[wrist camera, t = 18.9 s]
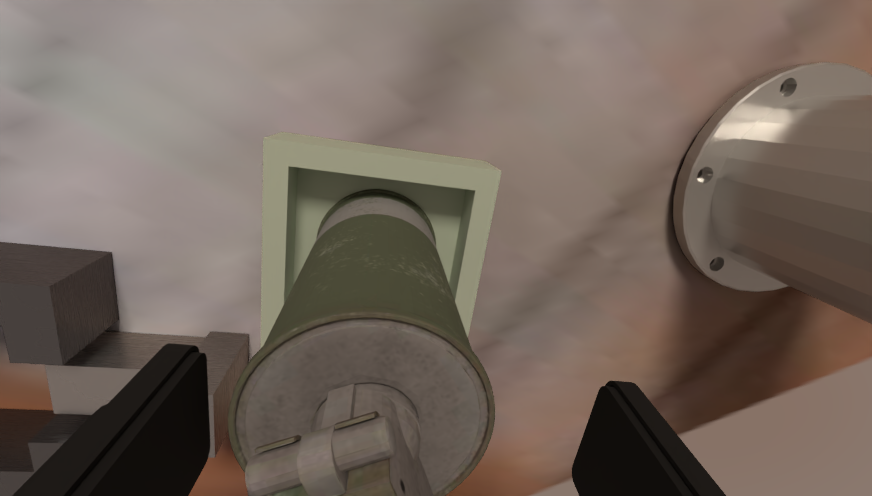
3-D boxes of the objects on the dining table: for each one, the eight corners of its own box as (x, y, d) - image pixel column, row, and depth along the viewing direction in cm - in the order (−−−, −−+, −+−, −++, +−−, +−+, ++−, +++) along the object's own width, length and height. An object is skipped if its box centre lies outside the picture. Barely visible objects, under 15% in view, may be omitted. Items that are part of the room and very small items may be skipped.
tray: (485, 161, 21) (501, 171, 18) (453, 330, 24) (462, 362, 21) (282, 131, 19) (263, 137, 16) (277, 317, 23) (260, 350, 20)
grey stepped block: (248, 334, 23) (213, 395, 18) (248, 387, 24) (215, 457, 19) (88, 323, 21) (5, 386, 17) (96, 380, 23) (20, 453, 18)
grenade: (296, 209, 19) (67, 492, 5) (417, 173, 20) (497, 360, 6) (342, 319, 22) (263, 719, 8) (450, 287, 22) (566, 623, 8)
